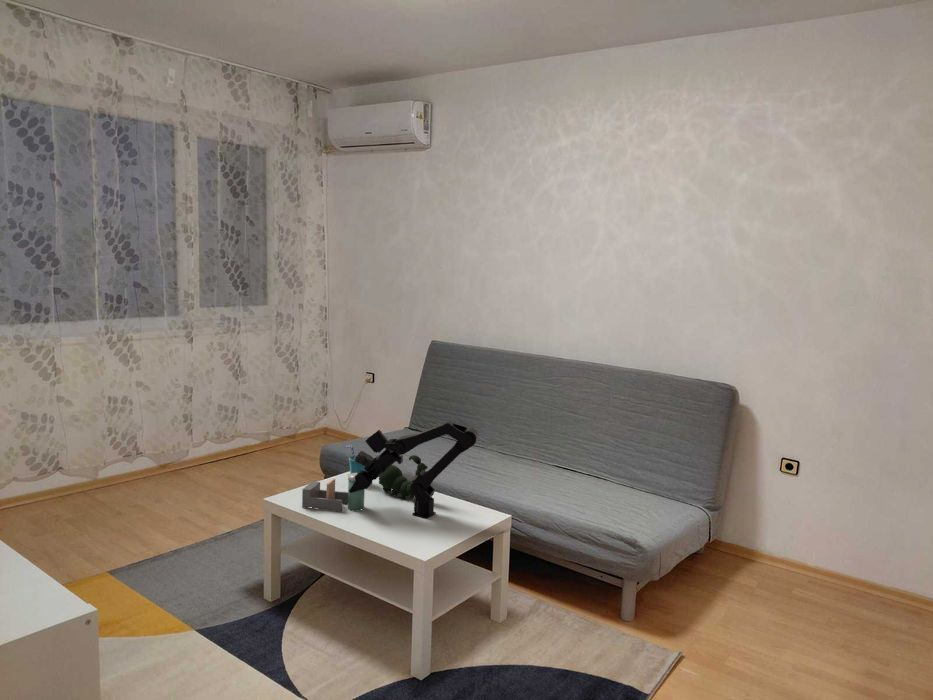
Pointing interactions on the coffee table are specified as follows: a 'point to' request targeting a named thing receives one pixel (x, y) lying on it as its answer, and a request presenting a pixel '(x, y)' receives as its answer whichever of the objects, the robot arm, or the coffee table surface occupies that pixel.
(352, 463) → the cup
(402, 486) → the toy figurine
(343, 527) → the coffee table surface
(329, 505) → the pusher lane
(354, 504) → the jar
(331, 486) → the pusher plate
